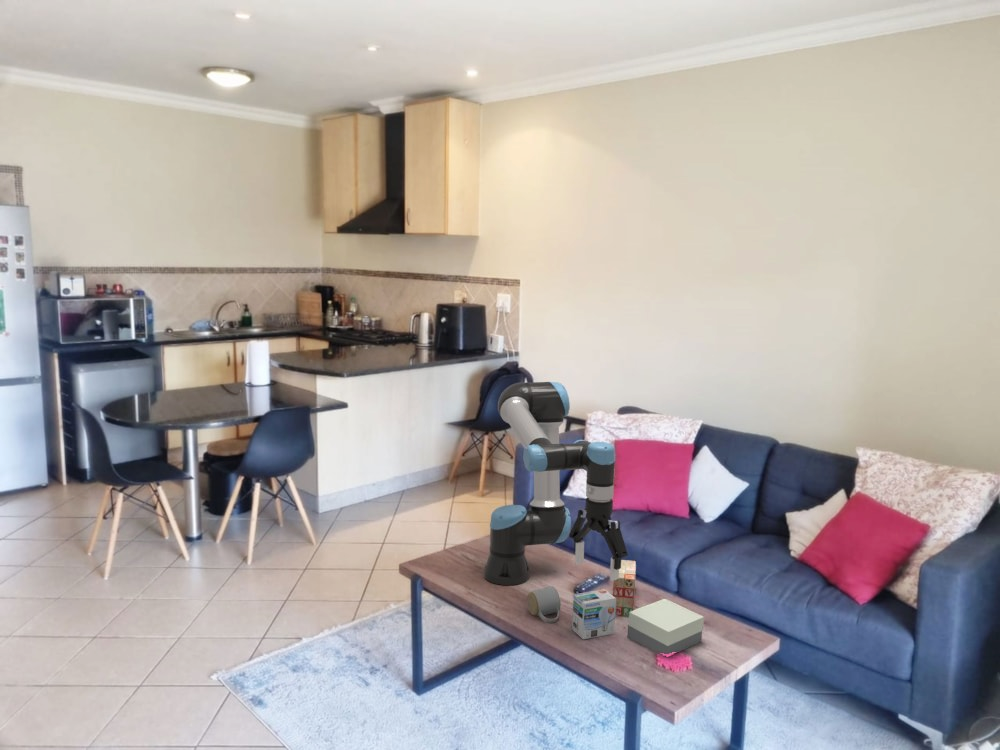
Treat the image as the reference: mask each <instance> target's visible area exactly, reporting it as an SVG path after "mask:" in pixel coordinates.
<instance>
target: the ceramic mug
mask: <svg viewBox="0 0 1000 750" xmlns="http://www.w3.org/2000/svg"><path fill="white" fill-rule="evenodd" d="M526 604H527V605H526V606H527V609H528V611H529V612H530V613H531V615H532V616H535V617H538V616H539V618H540V619H541V620H542V621H544V622H545V623H549V624H552V623H555V622H557V621H558V620H559V618H560V610H561V598H560V594H559V592H558V590H557V589H556V587H554V585H550V586H547V587H543V588H539V589H535V590H532V591H531V592H529V593H528V595H527V597H526ZM555 613H556V615H557V616H556V617H554V618H548V617H545V616H544V615H551V614H555Z"/></svg>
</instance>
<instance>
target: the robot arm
mask: <svg viewBox="0 0 1000 750" xmlns="http://www.w3.org/2000/svg"><path fill="white" fill-rule="evenodd" d="M569 398H570V397H569V395H568V391H567V389H566V387H565V386H564V384H563V383H560V382H557V381H556V382H555V381H539V382H538V381H537V382H533V381H531V382H516V383H513V384H510V385H509V386H507V387H506V388H504V390H503V391H502V392H501V394H500V396H499V397H498V401H497V411H498V414H499V416H500V417H501V419H502V420H503V422H505V423H507V424H509V425H510V428H511V430H512V432H514V434H515V436H516V438H517V439H518V441H519V443H520V444H521V445H522V447H523V448H524V449H523V454H522V458H523V459H522V460H523V463H524V467H525V469H526V470H527V471H528V472H533V496H534V497H533V499H532V500H531V501H530V502H529V509H527V508H526V507H525V506H523V505H520V504H505V505H502V506H499V507H497V508H496V509H494V510H493V511H492V513H491V515H490V523H489V529H490V532H489V533H490V536H489V537H490V538H489V539H490V540H489V555H488V558H487V561H486V564H485V565H484V569H483V576H484V579H485V578H486V579H485V580H487V581H488V582H490V583H492V584H495V585H499V584H500V585H501V586H515V585H520V584H521V585H522V584H524V583H526V582H527V581H528V580H529V579H530V567H529V564H528V561H527V558H526V546H536V545H550V544H551V545H554V544H558V543H563V542H565V541H566V540H567V539H568V537H569V538H570V539H572V540H573V542H574V545H573V546H574V547H573V548H574V549H573V550H574V552H575V553H574V555H575V556H574V558H575V559H574V565H575V566H579V565H582V564H584V562H585V561H584V560H585V559H584V557H585V541H584V538H586V536H587V534H589V533H590V531H596V532H597V533H599V534H600V535H601V536H602V537H603V538H604V540H605V542H606V544H607V546H608V548H609V550H610V552H611V555H612V556H611V557H610V567H609V568H610V569H609V570H610V571H609V581H610V582H614V580H617V579H619V569H620V568H621V560H622V559H623V558H626V557H628V551H627V547H626V544H625V541H624V538H623V537H624V536H623V535H622V534H623V533H622V531H621V523H620V520H618V519H617V520H612V518H611V516H612V513H613V510H614V509H613V507H614V506H613V505H614V503H613V502H614V501H613V498H614V488H615V487H614V484H615V483H614V481H615V480H614V478H615V464H616V447H615V446H614V444H612V443H610V442H605V441H592V442H591V441H588V440H585V439H578V440H575V441H574V442H571V443H560V426H561V425H562V424H563V423H564V418H565V417H567V416H568V415H569V413H570V405H571V404H570V399H569ZM571 470H583V471H586V486H585V497H586V498H585V505H584V506H585V507H584V508H582V509H578V511H577V517H576V519H575V521H574V524H573V525H572V517H571V513H570V510H569V508H567V507H566V506H565V502H564V501H563V500H562V499H561V495H560V494H561V491H560V489H561V488H560V487H561V485H560V484H561V483H560V480H561V479H560V471H571ZM586 520H587V521H586ZM585 521H586V523H585ZM571 527H572V528H571Z"/></svg>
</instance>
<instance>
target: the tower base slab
mask: <svg viewBox="0 0 1000 750" xmlns="http://www.w3.org/2000/svg"><path fill="white" fill-rule="evenodd" d="M626 636H627V638H628V639H630V640H631V641H634V642H636V643H638V644H640V645H641V646H643V647H645V648H648V649H649V650H651V651H653V652H655V653H656V652H657V654H658V653H664V654H669V653H672V652H678V651H681V652H683V651H685V650H687V649H689V648H691V647H693V646H694V644H695V645H697V644H699V643H702V640H703V639H702V637H703V631H701V632H698V633H696V634H694V635H692V636H689V637H687V638H685V639H683V640H680V641H678V642H676V643H674V644H671V645H669V646H667V645H665V644H663V643H661V642H659V641H657V640H655V639H653V638H651V637H650V636H648V635H646V634H644V633H642V632H640V631H638V630H636V629H634V628H633V627H631V626H629V624H628V625H627V635H626ZM696 643H697V644H696ZM692 645H693V646H692ZM690 646H691V647H690ZM688 647H689V648H688ZM686 648H687V649H686ZM682 650H683V651H682Z"/></svg>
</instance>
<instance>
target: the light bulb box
mask: <svg viewBox="0 0 1000 750" xmlns="http://www.w3.org/2000/svg"><path fill="white" fill-rule="evenodd" d="M572 600H573V601H572V602H573V603H572V625H571V627H572V628H571V630H572V631H573V632H574V633H575V634H577V635H578V636H579V637H580V638H581V639H582V640H587V639H592V638H593V639H594V638H600V637H603V636H604V637H605V636H609V635H614V634H615V628H616V627H615V626H616V625H615V624H616V615H615V612H616V598H615V597H614V596H613V594H611V592H609V591H608V590H607V589H604V588H603V589H598V590H591V591H586V592H581V593H579V592H578V593H574V594H573V599H572Z"/></svg>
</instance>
